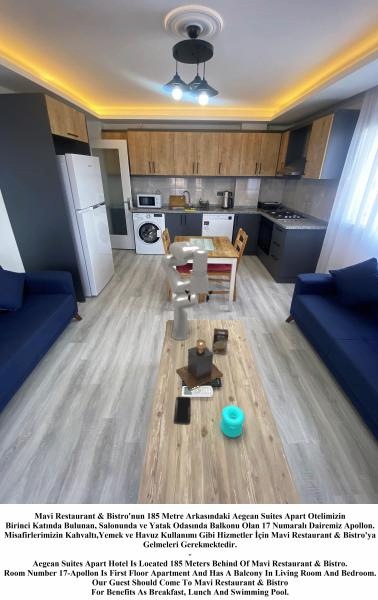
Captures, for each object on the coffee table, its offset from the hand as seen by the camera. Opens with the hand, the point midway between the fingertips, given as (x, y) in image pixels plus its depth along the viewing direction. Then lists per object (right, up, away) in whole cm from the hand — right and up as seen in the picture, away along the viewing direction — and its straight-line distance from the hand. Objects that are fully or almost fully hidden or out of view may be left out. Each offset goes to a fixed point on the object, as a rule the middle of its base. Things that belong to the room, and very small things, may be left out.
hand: (198, 301), depth 136 cm
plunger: (+1, -41, +4) cm, 41 cm away
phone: (-8, -54, -16) cm, 57 cm away
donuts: (+14, -59, -25) cm, 65 cm away
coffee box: (+15, -34, +24) cm, 44 cm away
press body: (+1, -43, +5) cm, 43 cm away
